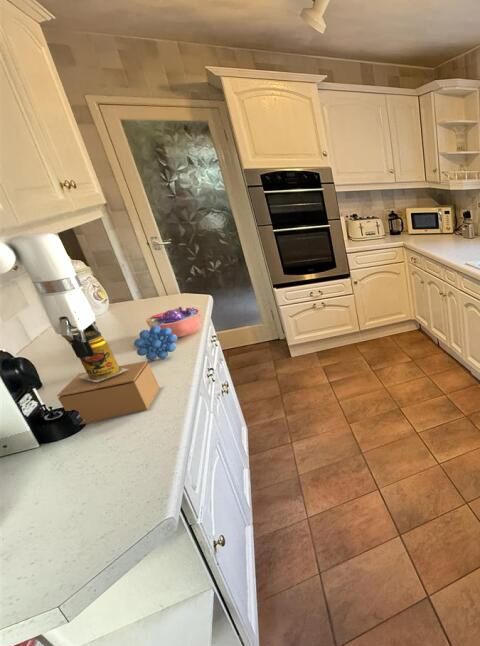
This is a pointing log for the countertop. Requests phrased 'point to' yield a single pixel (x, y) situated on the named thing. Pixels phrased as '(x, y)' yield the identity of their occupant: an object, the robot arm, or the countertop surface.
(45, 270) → the robot arm
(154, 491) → the countertop surface
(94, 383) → the flap
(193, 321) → the cell model
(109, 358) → the condiment
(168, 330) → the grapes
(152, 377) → the carton
